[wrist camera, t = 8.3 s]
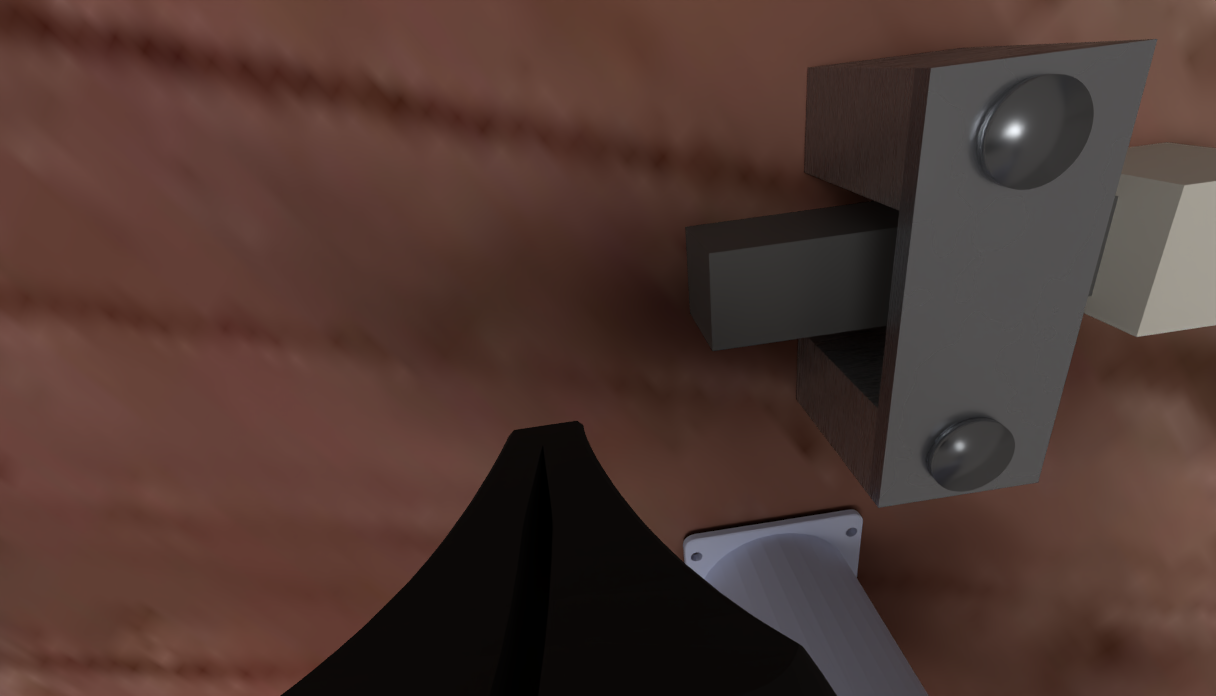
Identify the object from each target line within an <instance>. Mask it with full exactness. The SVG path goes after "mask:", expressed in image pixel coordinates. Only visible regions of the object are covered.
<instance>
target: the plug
mask: <svg viewBox="0 0 1216 696" xmlns="http://www.w3.org/2000/svg"><path fill="white" fill-rule="evenodd" d="M898 218H899V210H896V209H894V208H891V207H889V206H886V205H884V204H882V203H879V202H877V201H871V202H864V203H856V204H849V205H842V206H835V207H827V208H820V209H813V210H805V211H798V212H791V213H784V214H776V215H769V216H762V217H754V218H747V219H740V220H733V221H725V222H718V223H711V224H703V225H696V226H689V227H685V230H686V248H687V266H688V285H689V303H690V314H691V316H692V317H693V319H694V321H695V322H696V324H697V326H698V328H699V329H700V331H701V333H702V334H703V336H704V338H705V339H706V341H707V343H708V344H709V346H710V348H711V349H712V351H717V350H724V349H731V348H738V347H744V346H751V345H758V344H765V343H772V342H779V341H786V340H792V339H799V338H806V337H813V336H820V335H827V334H834V333H840V332H847V331H854V330H861V329H868V328H875V327H882V326H887V319H888V310H889V301H890V292H891V283H892V273H893V264H894V255H895V246H896V237H897V227H898ZM1084 313H1085V314H1087V315H1089V316H1092V317H1094V318H1096V319H1098V320H1100V321H1103V322H1105V323H1107V324H1109V325H1111V326H1114V327H1116V328H1118V329H1120V330H1122V331H1125V332H1127V333H1129V334H1131V335H1133V336H1136V337H1139V336H1146V335H1152V334H1159V333H1166V332H1172V331H1179V330H1186V329H1193V328H1199V327H1206V326H1213V325H1216V148H1210V147H1202V146H1193V145H1185V144H1176V143H1168V142H1166V143H1158V144H1151V145H1144V146H1136V147H1129V148H1128V150H1127V154H1126V157H1125V161H1124V165H1123V168H1122V172H1121V176H1120V180H1119V183H1118V187H1117V191H1116V194H1115V198H1114V202H1113V206H1112V209H1111V213H1110V217H1109V220H1108V224H1107V228H1106V232H1105V235H1104V239H1103V243H1102V246H1101V250H1100V254H1099V258H1098V261H1097V265H1096V269H1095V272H1094V276H1093V280H1092V284H1091V287H1090V291H1089V295H1088V298H1087V302H1086V306H1085V310H1084Z"/></svg>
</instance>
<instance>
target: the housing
mask: <svg viewBox="0 0 1216 696" xmlns="http://www.w3.org/2000/svg"><path fill="white" fill-rule="evenodd" d="M1156 42H1157V39H1147V40H1125V41H1103V42H1081V43H1059V44H1037V45H1015V46H993V47H971V48H959V49H951V50H943V51H935V52H928V53H920V54H912V55H904V56H896V57H888V58H880V59H873V60H865V61H857V62H849V63H841V64H833V65H826V66H818V67H810V68H808V80H807V108H806V136H805V164H804V172H805V173H807V174H810V175H812V176H815V177H817V178H820V179H822V180H825V181H827V182H830V183H832V184H835V185H837V186H840V187H842V188H844V189H847V190H849V191H852V192H854V193H857V194H859V195H862V196H864V197H867V198H869V199H872V200H874V201H877V202H879V203H882V204H884V205H886V206H889V207H891V208H894V209H896V210H899V218H898V227H897V237H896V246H895V255H894V264H893V273H892V283H891V292H890V301H889V310H888V319H887V326H882V327H875V328H868V329H861V330H854V331H847V332H840V333H834V334H827V335H820V336H813V337H806V338H799V339H798V361H797V390H796V400H797V401H798V402H799V404H800V405H801V406H802V408H803V409H804V410H805V412H806V413H807V414H808V415H809V417H810V418H811V419H812V421H813V422H814V423H815V425H816V426H817V427H818V429H819V430H820V431H821V433H822V434H823V435H824V437H825V438H826V439H827V441H828V442H829V443H830V444H831V446H832V447H833V448H834V450H835V451H836V452H837V454H838V455H839V456H840V458H841V459H842V460H843V462H844V463H845V464H846V466H847V467H848V468H849V470H850V471H851V472H852V473H853V475H854V476H855V477H856V479H857V480H858V481H859V483H860V484H861V485H862V487H863V488H864V489H865V491H866V492H867V493H868V495H869V496H870V497H871V499H872V500H873V501H874V503H875V504H876V505H877V506H878V508H879V507H886V506H892V505H898V504H905V503H911V502H917V501H924V500H930V499H936V498H943V497H949V496H955V495H962V494H968V493H974V492H980V491H987V490H993V489H999V488H1006V487H1012V486H1018V485H1025V484H1031V483H1037V482H1038V481H1039V477H1040V473H1041V469H1042V466H1043V462H1044V458H1045V455H1046V451H1047V447H1048V443H1049V440H1050V436H1051V432H1052V429H1053V425H1054V421H1055V417H1056V414H1057V410H1058V406H1059V403H1060V399H1061V395H1062V391H1063V388H1064V384H1065V380H1066V377H1067V373H1068V369H1069V365H1070V362H1071V358H1072V354H1073V351H1074V347H1075V343H1076V339H1077V336H1078V332H1079V328H1080V325H1081V321H1082V317H1083V313H1084V310H1085V306H1086V302H1087V298H1088V295H1089V291H1090V287H1091V284H1092V280H1093V276H1094V272H1095V269H1096V265H1097V261H1098V258H1099V254H1100V250H1101V246H1102V243H1103V239H1104V235H1105V232H1106V228H1107V224H1108V220H1109V217H1110V213H1111V209H1112V206H1113V202H1114V198H1115V194H1116V191H1117V187H1118V183H1119V180H1120V176H1121V172H1122V168H1123V165H1124V161H1125V157H1126V154H1127V150H1128V146H1129V142H1130V139H1131V135H1132V131H1133V128H1134V124H1135V120H1136V116H1137V113H1138V109H1139V105H1140V101H1141V98H1142V94H1143V90H1144V87H1145V83H1146V79H1147V75H1148V72H1149V68H1150V64H1151V61H1152V57H1153V53H1154V49H1155V46H1156Z"/></svg>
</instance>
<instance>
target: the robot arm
mask: <svg viewBox="0 0 1216 696" xmlns="http://www.w3.org/2000/svg"><path fill="white" fill-rule="evenodd" d="M862 525H863V519H862V517H861V515H860V514H859V513H858V511H856V510H854V509H849V510H843V511H837V512H830V513H824V514H818V515H812V516H805V517H799V518H793V519H786V520H780V521H774V522H767V523H761V524H755V525H748V526H742V527H736V528H729V529H723V530H717V531H710V532H704V533H698V534H693V535H689V536H688V537H687V538H686V539H685V540H684V542H683V549H684V562H683V561H682V560H680V559H679V558H678V557H677V556H676V555H675V554H674V553H673V552H672V551H671V550H670V549H669V548H668V547H667V546H666V545H665V544H664V543H663V542H662V541H661V540H660V539H659V538H658V537H657V536H656V535H655V534H654V533H653V532H652V531H651V530H650V529H649V528H648V527H647V526H646V525H645V523H644V522H643V521H642V520H641V519H640V518H639V517H638V515H637V514H636V513H635V512H634V511H633V509H632V508H631V507H630V506H629V504H628V503H627V502H626V501H625V499H624V498H623V497H622V496H621V494H620V493H619V491H618V490H617V489H616V487H615V486H614V485H613V483H612V482H611V480H610V478H609V477H608V475H607V474H606V472H605V471H604V469H603V468H602V466H601V465H600V463H599V461H598V460H597V458H596V456H595V454H594V452H593V450H592V448H591V447H590V444H589V442H588V440H587V437H586V435H585V431H584V426H583V425H582V424H581V423H579V422H578V421H572V422H565V423H559V424H552V425H545V426H538V427H532V428H525V429H518V430H514V431H513V432H512V433H511V434H510V436H509V437H508V439H507V441H506V443H505V445H504V447H503V449H502V451H501V453H500V455H499V456H498V458H497V460H496V462H495V463H494V465H493V467H492V469H491V470H490V472H489V474H488V476H487V477H486V479H485V480H484V482H483V484H482V485H481V487H480V488H479V490H478V492H477V493H476V495H475V496H474V498H473V500H472V501H471V503H470V504H469V506H468V507H467V509H466V510H465V511H464V513H463V514H462V516H461V517H460V518H459V520H458V521H457V522H456V524H455V525H454V527H453V528H452V529H451V531H450V532H449V534H448V535H447V536H446V538H445V539H444V540H443V542H442V543H441V544H440V545H439V547H438V548H437V549H436V551H435V552H434V553H433V554H432V555H431V557H430V558H429V559H428V560H427V561H426V563H425V564H424V565H423V566H422V567H421V568H420V570H419V571H418V572H417V573H416V574H415V575H414V576H413V578H412V579H411V580H410V581H409V582H408V583H407V584H406V585H405V586H404V587H403V588H402V589H401V590H400V591H399V592H398V593H397V594H396V595H395V596H394V597H393V598H392V599H391V600H390V601H389V602H388V603H387V604H386V605H385V606H384V607H383V608H382V609H381V610H380V611H379V612H378V613H377V614H376V615H375V616H374V617H373V618H372V619H371V620H370V621H369V622H368V623H367V624H366V625H365V626H364V627H363V628H362V629H360V630H359V631H358V632H357V633H356V634H355V635H354V636H353V637H351V638H350V639H349V640H348V641H347V642H346V643H345V644H344V645H342V646H341V647H340V648H339V649H338V650H337V651H336V652H334V653H333V654H332V655H331V656H330V657H328V658H327V659H326V660H325V661H324V662H322V663H321V664H320V665H319V666H318V667H316V668H315V669H314V670H313V671H312V672H310V673H309V674H308V675H307V676H305V677H304V678H303V679H302V680H300V681H299V682H298V683H297V684H295V685H294V686H293V687H291V688H290V689H289V690H287V691H286V692H285V693H283V694H282V695H281V696H929V695H928V694H927V692H926V691H925V689H924V687H923V686H922V684H921V682H920V681H919V679H918V677H917V676H916V674H915V673H914V671H913V669H912V668H911V666H910V664H909V663H908V661H907V659H906V658H905V656H904V655H903V653H902V651H901V650H900V648H899V646H898V645H897V643H896V641H895V640H894V638H893V637H892V635H891V633H890V632H889V630H888V628H887V627H886V625H885V623H884V622H883V620H882V619H881V617H880V615H879V614H878V612H877V610H876V609H875V607H874V605H873V604H872V602H871V601H870V599H869V597H868V596H867V594H866V592H865V591H864V589H863V588H862V586H861V584H860V583H859V581H858V579H857V572H858V562H859V553H860V543H861V534H862ZM849 528H851V529H849ZM848 529H849V530H848ZM696 552H699V553H698V554H695V555H692V554H693V553H696Z"/></svg>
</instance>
